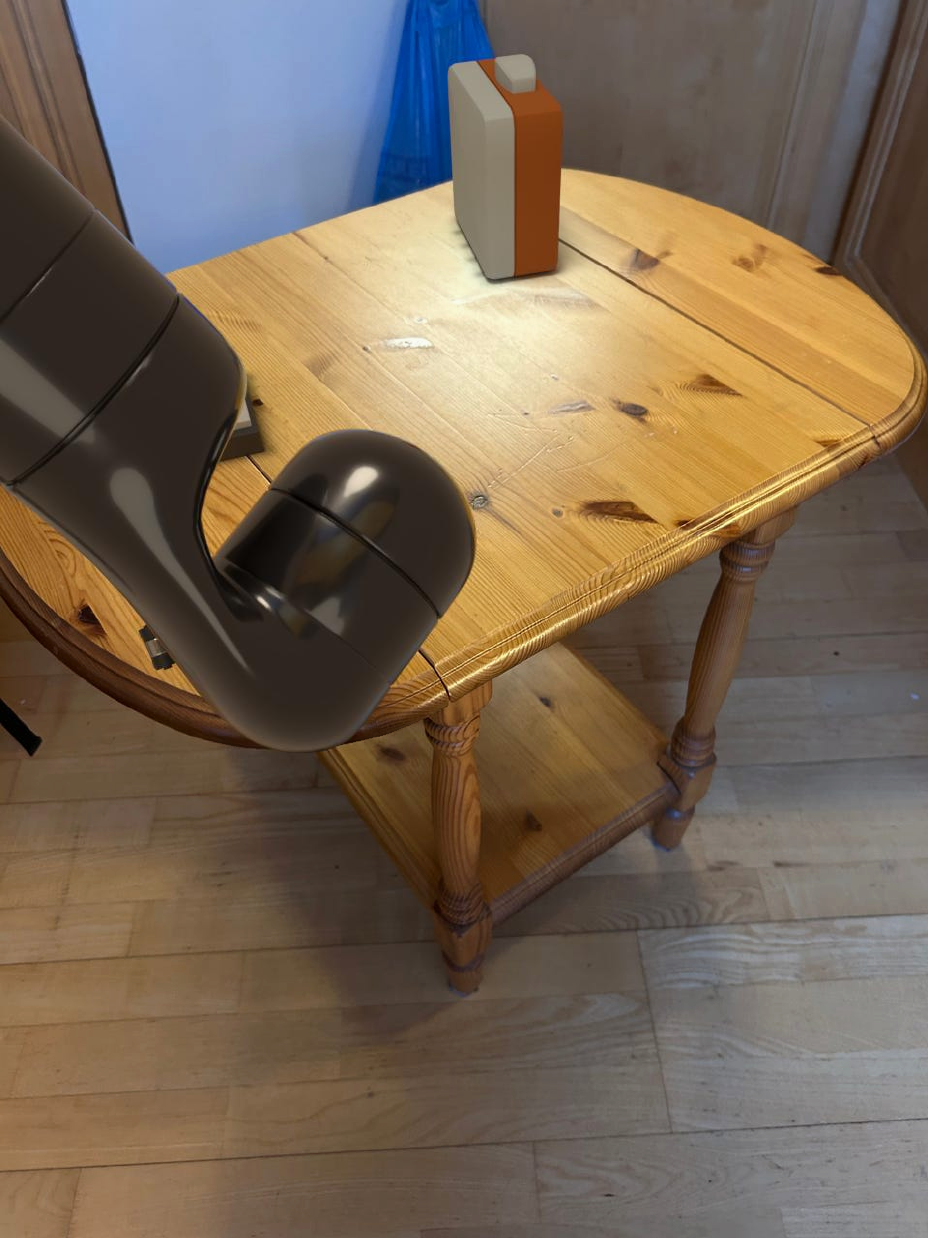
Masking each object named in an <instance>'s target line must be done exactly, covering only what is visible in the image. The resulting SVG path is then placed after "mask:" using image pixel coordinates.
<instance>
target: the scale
mask: <svg viewBox="0 0 928 1238" xmlns="http://www.w3.org/2000/svg"><path fill="white" fill-rule="evenodd" d="M261 452H262V453H263V452H265V448H264V444H263V441H262V436H261V433H260V429H259V426H258V422H257V419H256V415H255V412H254V408H253V404H252V401H251V398H250V394H249V390H248V389H247V390H246V396H245V400H244V404H243V408H242V411H241V414H240V416H239V419H238V421H237V424H236V426H235V429H234V431H233V433H232V435H231V437H230V439H229V441H228V443H227V445H226V447H225V449H224V452H223V454H222V456H221V458H220V460H219V462H223V461H227V460H232V459H236V458H241V457H245V456H249V455H253V454H258V453H261Z"/></svg>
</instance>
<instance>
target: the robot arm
mask: <svg viewBox="0 0 928 1238" xmlns="http://www.w3.org/2000/svg"><path fill="white" fill-rule="evenodd" d="M247 376H248V375H247V372H246V368H245V364H244V362H243V360H242V358H241V356H240V355H239V353H238V352H237V350H236V349H235V347H234V346H233V345H232V344H231V342H230V341H229V340H228V339H227V338H226V336H225V335H224V334H223V333H222V331H220V330H219V329H218V328H217V326H215V324H213V322H212V321H211V320H210V319H209V317H207V315H205V314H204V313H203V312H202V311H201V310H200V309H199V308H197V306H195V304H193V302H191V300H189V299H188V298H187V297H186V296H185V295H184V294H183V292H180V291H178V290H177V287H176V285H175V284H174V283H173V282H171V280H170V279H169V278H168V277H167V276H165V274H163V273H162V271H160V270H159V269H158V268H157V267H156V266H155V265H154V263H152V261H150V260H149V259H148V257H146V256H145V255H144V254H143V253H142V252H141V251H140V250H139V248H137V247H136V246H135V245H134V244H133V243H132V242H131V241H130V240H129V239H128V238H127V237H125V235H124V233H122V232H121V231H120V230H119V229H118V228H117V227H116V226H115V225H114V224H113V223H112V222H111V221H110V220H109V219H108V218H107V217H105V216H104V215H103V213H101V212H100V211H99V209H95V206H94V205H93V204H92V203H91V202H90V201H89V199H87V198H86V196H84V195H83V194H82V193H81V192H80V191H79V190H78V189H77V188H76V187H75V186H73V184H72V183H71V182H70V181H69V180H68V179H67V178H66V177H64V175H63V174H61V172H59V171H58V170H57V169H56V168H55V167H54V166H53V165H52V163H50V162H49V161H48V160H47V159H46V158H45V157H44V156H43V155H42V154H41V153H40V152H39V151H38V150H37V149H36V148H35V147H34V146H33V145H32V144H31V143H30V142H29V141H27V140H26V138H25V137H24V136H23V135H22V134H21V133H20V132H19V131H18V130H17V129H16V128H15V127H14V126H13V125H12V124H11V122H9V121H8V120H7V119H6V118H5V116H3V115H2V113H0V485H1V486H2V489H3V490H4V491H5V492H7V493H8V494H9V495H11V497H13V498H15V499H16V500H18V501H19V503H21V504H23V505H24V506H26V507H27V509H29V510H30V511H31V512H32V513H34V514H35V515H36V516H37V517H39V518H40V519H41V520H42V521H44V522H45V523H47V525H49V526H50V527H51V528H53V529H54V530H55V532H57V533H59V534H60V535H61V536H62V537H63V538H64V539H65V540H66V541H68V542H69V544H71V545H72V546H73V547H74V548H75V549H76V550H77V551H79V552H80V553H81V554H82V555H83V556H84V557H85V558H86V559H87V560H88V561H89V562H90V563H91V564H92V565H93V566H94V567H95V568H96V569H97V571H99V572H100V573H101V574H102V575H103V576H104V577H105V578H106V579H107V581H108V582H109V583H110V584H111V585H112V586H113V587H114V588H115V590H117V592H119V594H120V595H122V597H123V598H124V599H125V600H126V602H127V603H128V604H129V605H130V606H131V608H132V609H133V610H134V612H135V613H136V614H137V616H139V617H140V619H141V620H142V621H143V623H144V626H142V628H140V629H138V631H137V632H138V634H139V636H140V639H142V643H143V644H144V646H145V649H146V651H147V653H148V656H149V658H150V660H151V664H152V666H153V668H154V670H156V671H160V670H163V671H167V670H170V669H171V668H174V666H173V665H176V666H177V668H178V669H179V670H180V671H181V673H182V674H183V675H184V677H185V678H186V679H187V681H188V682H189V683H190V684H191V686H192V687H193V688H194V689H195V691H196V692H197V694H198V695H199V696H200V697H201V698H202V699H203V700H204V701H205V703H206V704H207V705H208V706H209V707H210V709H212V710H213V712H215V713H216V714H217V716H219V717H220V718H221V719H222V720H223V722H225V723H226V724H227V725H229V727H230V728H232V729H233V730H234V731H236V732H237V733H239V734H240V735H242V736H243V737H245V738H247V739H248V740H250V741H252V742H254V743H255V744H257V745H260V746H262V747H264V748H267V749H271V750H273V751H277V752H282V753H289V754H313V753H320V752H325V751H328V750H331V749H335V748H337V747H340V746H342V745H343V744H345V743H346V742H347V741H349V740H350V739H351V738H352V737H353V736H355V735H356V734H357V733H358V731H359V730H360V729H362V727H364V725H365V724H366V722H368V720H369V719H370V717H372V715H373V714H374V713H375V712H376V710H377V708H378V707H379V705H380V704H381V703H382V702H383V699H384V698H385V697H386V696H387V694H388V693H389V691H390V690H391V688H392V687H391V686H392V685H394V684H395V683H396V682H397V680H398V679H399V677H401V675H402V673H403V672H404V671H405V669H407V667H408V665H409V664H410V662H411V661H412V660H413V658H414V657H415V655H416V654H417V653H418V651H419V650H420V649H421V648H422V646H423V644H424V643H425V642H426V641H427V639H428V638H429V637H430V635H431V634H432V633H433V631H434V629H435V628H436V627H437V626H438V622H439V620H441V619H443V617H444V616H445V615H446V613H447V612H448V610H449V609H450V608H451V607H452V605H453V604H454V602H456V600H457V598H458V597H459V595H460V594H461V592H462V591H463V589H464V587H465V586H466V583H468V581H469V580H468V579H469V578H470V575H471V573H472V571H473V568H474V564H475V561H476V555H477V546H478V537H477V527H476V522H475V517H474V514H473V511H472V508H471V505H470V503H469V500H468V499H467V496H466V495H465V492H464V491H463V489H462V488H461V486H460V485H459V483H458V482H457V481H456V480H455V478H454V477H453V475H452V474H451V473H450V472H449V471H448V469H447V468H446V467H445V466H444V465H443V464H442V463H440V462H439V461H438V460H437V459H436V458H435V457H433V456H432V455H431V454H430V453H429V452H427V451H426V450H424V449H423V448H421V447H420V446H418V445H416V444H414V443H412V442H410V441H409V440H407V439H404V438H401V437H399V436H397V435H394V434H391V433H388V432H384V431H380V430H376V429H370V428H369V429H368V428H340V429H334V430H331V431H327V432H324V433H322V434H319V435H317V436H315V437H314V438H312V439H310V440H308V441H307V442H306V443H305V444H304V445H302V446H301V447H300V448H299V449H298V450H297V451H296V452H295V453H294V455H292V457H291V458H290V459H289V460H288V461H287V463H286V464H285V465H284V466H283V468H282V469H281V470H280V471H279V473H278V474H277V475H276V476H275V477H274V478H273V480H272V481H271V482H270V484H269V485H268V486H267V490H265V491H264V492H263V493H262V494H261V495H260V497H259V498H258V499H257V501H256V502H255V503H254V504H253V505H252V507H250V509H249V510H248V511H247V513H246V514H245V515H244V516H243V518H241V520H240V521H239V522H238V524H237V525H236V527H234V529H233V530H232V531H231V532H230V534H229V535H228V536H227V537H226V539H224V541H223V543H222V544H221V545H220V546H219V547H218V548H217V550H216V551H215V552H214V554H215V555H214V554H213V555H214V556H213V555H212V554H211V551H210V548H209V546H208V543H207V538H206V533H205V529H204V523H203V509H204V506H205V501H206V497H207V492H208V490H209V488H210V485H211V481H212V479H213V476H214V474H215V471H216V470H217V467H218V465H219V463H220V461H219V460H220V458H221V456H222V454H223V452H224V449H225V447H226V445H227V443H228V441H229V439H230V437H231V435H232V433H233V431H234V429H235V426H236V424H237V421H238V419H239V416H240V414H241V411H242V408H243V404H244V400H245V396H246V390H248V377H247ZM211 556H213V557H211Z"/></svg>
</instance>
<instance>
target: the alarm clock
mask: <svg viewBox="0 0 928 1238" xmlns="http://www.w3.org/2000/svg"><path fill="white" fill-rule="evenodd" d="M447 90H448V91H447V93H448V107H449V108H448V113H449V130H450V131H449V132H450V151H451V152H450V153H451V169H452V170H451V172H452V191H453V193H452V195H453V209H454V217H455V218H456V221H457V223H458V224H459V226H460V229H461V231H462V232H463V234H464V236H465V238H466V240H467V242H468V244H469V246H470V248H471V251H472V252H473V254H474V255H475V258H476V260H477V262H478V263H479V264H478V265H480V268H481V269H482V271H483V273H484V276H485V277H486V279H491V280H499V279H503V278H511V277H517V276H524V275H530V274H536V273H542V272H549V271H553V270H554V269H556V268H557V265H558V260H559V239H560V236H559V235H560V214H561V213H560V212H561V186H562V185H561V183H562V161H563V160H562V159H563V134H564V133H563V132H564V114H563V111H562V108H561V105H560V103H559V101H557V99H556V98H555V97H554V95H552V93H550V91H549V90H548V88H547V87H545V85H544V84H543V83H542V81H541V80H540V79H539V78H538V77H537V70H536V65H535V62H534V61H533V59H532V58H531V57H530V56H529V55H527V54H522V53H520V54H512V55H503V56H497V57H494V58H487V59H480V60H479V59H478V60H471V61H464V62H457V63H456V62H455V63H453V64H452V65H450V66H449V67H448V71H447Z"/></svg>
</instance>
